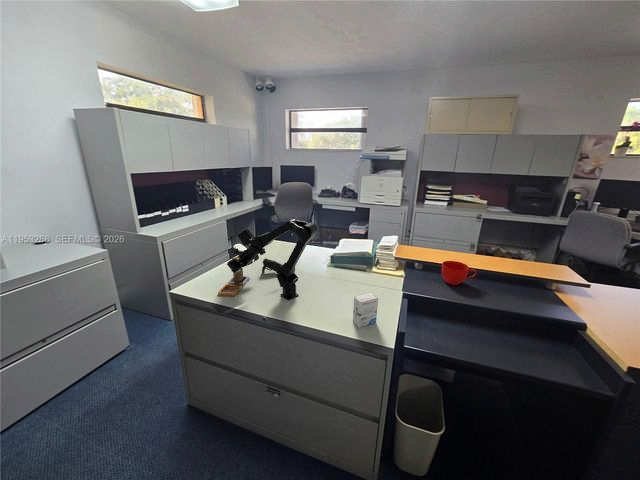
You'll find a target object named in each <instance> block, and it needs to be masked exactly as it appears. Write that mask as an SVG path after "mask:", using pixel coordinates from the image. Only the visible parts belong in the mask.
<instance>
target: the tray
mask: <svg viewBox="0 0 640 480" xmlns="http://www.w3.org/2000/svg"><path fill="white" fill-rule="evenodd" d="M243 280H244V281H243V282H242V283H238V282H234V277H231V279H229V280H228V282H227V283H226V284H224V286H222V287H221V288H220V289H219V291H218V292H217V295H216V297H226V298H236V297H237V295H238V294H239V293H241V291H242V290H243V288H244V287H245V286H246V285H247V283H248V282H249V281H250V280H251V278H250V276H247V275H246V276H244V275H243Z"/></svg>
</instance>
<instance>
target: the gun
mask: <svg viewBox="0 0 640 480" xmlns="http://www.w3.org/2000/svg"><path fill="white" fill-rule="evenodd" d="M262 265H263V266H262V268H261V273H265V271H266V270H267V271H270V272H271V271H273V272H275V273H276V272H278V270H279V267H280V266H281V265H283V263H280V262H278V261H276V260H273V259H269V258H264V259H263V260H262Z"/></svg>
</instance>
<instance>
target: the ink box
mask: <svg viewBox="0 0 640 480" xmlns="http://www.w3.org/2000/svg"><path fill="white" fill-rule="evenodd" d="M378 304H379V298H378V296H376V295H375V294H373V293H372V292H370V293H365V294H361V295H357V296H354V297H353V311H352V312H353V313H352V315H353V316H352V322H353V323H354V324H355V325H356V327H358V328H359V329H360V328H363V327H367V326H369V325H372V324H376V323H377V317H378V316H377V315H378V308H379V307H378Z"/></svg>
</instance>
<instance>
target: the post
mask: <svg viewBox="0 0 640 480" xmlns="http://www.w3.org/2000/svg"><path fill="white" fill-rule="evenodd" d="M232 259H236V260H237V261H238V262H239V259H240V258H238V256H233V257H232V258H231V260H232ZM243 269H244V267H242V270H240V271H238V272H236V273H234V272H232V275H233V277H234V282H238V283H242V282H243V281H244V280H243V276H244V271H243ZM233 277H232V278H233Z"/></svg>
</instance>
